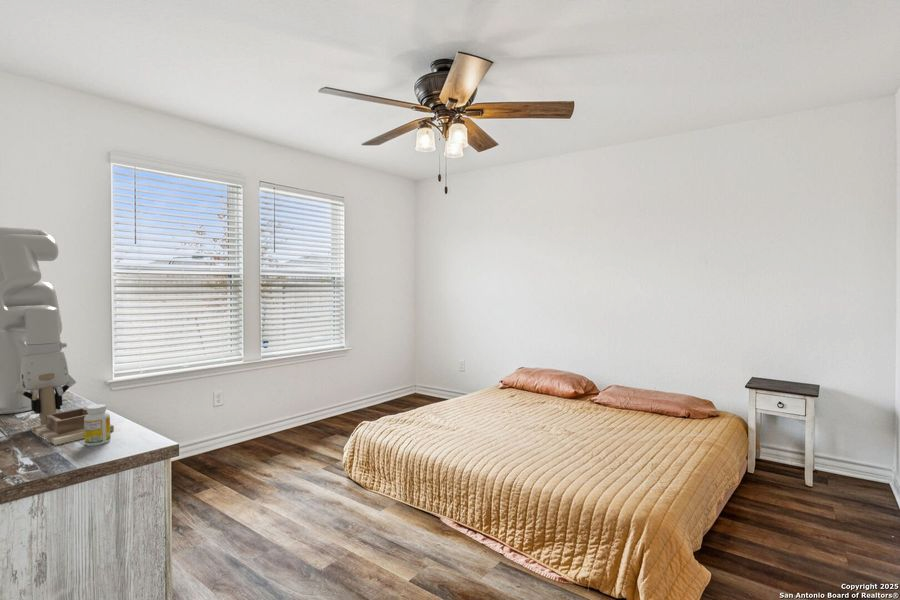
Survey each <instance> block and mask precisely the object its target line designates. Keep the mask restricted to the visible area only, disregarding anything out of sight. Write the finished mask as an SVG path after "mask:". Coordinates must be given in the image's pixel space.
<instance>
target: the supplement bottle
mask: <svg viewBox="0 0 900 600" xmlns="http://www.w3.org/2000/svg"><path fill="white" fill-rule="evenodd" d="M86 408H87V413H88V415H86V416H85V418H84V431H85V438H84V445H85V446H88V447H94V446H95V447H96V446H101V445H104V444H107V443H109V442H110V441H111V432H110V424H111V417H110V415H111V414H110V413H109V412H107V405H106V404H104V403H103V404H101V403H99V404H98V403H97V404H92V405H90V406H87V407H86Z"/></svg>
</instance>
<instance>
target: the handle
mask: <svg viewBox="0 0 900 600" xmlns="http://www.w3.org/2000/svg"><path fill="white" fill-rule="evenodd" d="M54 377H55V376H54V374H48V375H41V376H39V380H41V381H49V380H51V379H53V378H54ZM38 399H39V400H40V410H41V413H38V414H39V419H40V420H39V422H40V425H44V424H46V416H45V415H49V414H54V413H57V409H56V400H55V390H54V387H47V388H43V389H39V392H38Z"/></svg>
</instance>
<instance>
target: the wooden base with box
mask: <svg viewBox="0 0 900 600" xmlns="http://www.w3.org/2000/svg"><path fill="white" fill-rule="evenodd" d="M86 415H88V413H87V407H85V406H84V407H81V408H75V409H70V410H65V411H60V412H56V413H54V414H49V415H45V416H46V424H44V425H42V424H39V425H36V426H32V427H31V430H32V433H33V434H34V433H35V434H34V435H36V434H37V435H36V436H38V435H39V436H41V437H43V438H45V439H46V440H48V441H50V442H51V443H53V444H54V445H53V444H52V445H53V446H57V444H59V445H62V443H63V444H66V442H67V443H71V442H74V440H75V441H79V440H83V439H85V431H84V418H85V416H86ZM113 430H114V431H115V428H114V425H113V424H111V423H110V431H111V432H114V431H113ZM39 436H38V437H39ZM41 437H40V438H41ZM43 438H42V439H43ZM82 438H83V439H82ZM45 439H44V440H45ZM78 439H79V440H78ZM46 440H45V441H46ZM48 441H47V442H48ZM70 441H71V442H70ZM50 442H49V443H50ZM51 443H50V444H51Z"/></svg>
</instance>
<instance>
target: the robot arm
mask: <svg viewBox="0 0 900 600" xmlns="http://www.w3.org/2000/svg"><path fill="white" fill-rule="evenodd" d="M58 256H59V247H58V243H57V241H56V240H55V238H54V237H53V236H52V235H50V233H47V232H46V231H44V230H42V229H36V228H20V227H19V228H18V227H17V228H16V227H3V226H0V415H8V414H17V413H22V412H28V411H32V412H34V413H35V414H39V413H41V410H40V400H39V399H38V394H39V389H43V388H47V387H54V393H55V400H56V410H61V406H63V396H64V394H65V392H66V391H68V389H70V388H71V387H72V386H74V385H75V384H76V383H77V381H76V380H75V379H74V378H73V377H72V376H71V375H70V374H69V367H68V363H67V359H66V354H65V352H64V351H62V350H63V349H64V348H67V345H68V344H67V343H66V342H64V343H63V342H62V341H61V334H62V331H63V325H62V324H63V323H62V317H61V312H60V306H59V301H58V296H57V293H56V289H55V287H54V286H53V285H52V284H51V283H49V282H47V281H41V280H42V273H41V269H40V265H39V262H53V261H55V260H56V259H57V258H58ZM48 374H54V376H55V377H54V378H53V379H51V380H49V381H41V380H39V376H41V375H48Z"/></svg>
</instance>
